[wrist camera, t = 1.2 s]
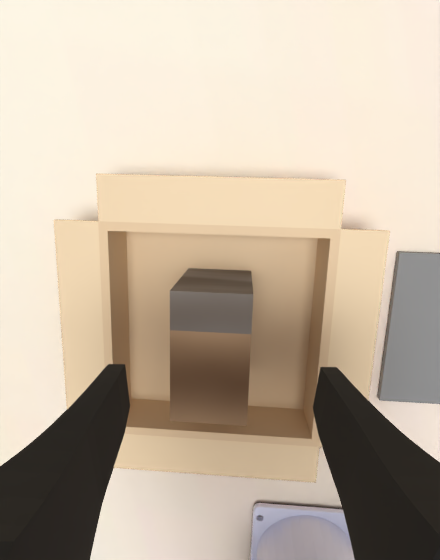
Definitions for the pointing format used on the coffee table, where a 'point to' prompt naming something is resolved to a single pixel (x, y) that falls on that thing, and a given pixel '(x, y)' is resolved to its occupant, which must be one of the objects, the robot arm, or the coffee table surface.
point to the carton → (265, 318)
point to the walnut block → (210, 346)
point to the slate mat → (413, 331)
